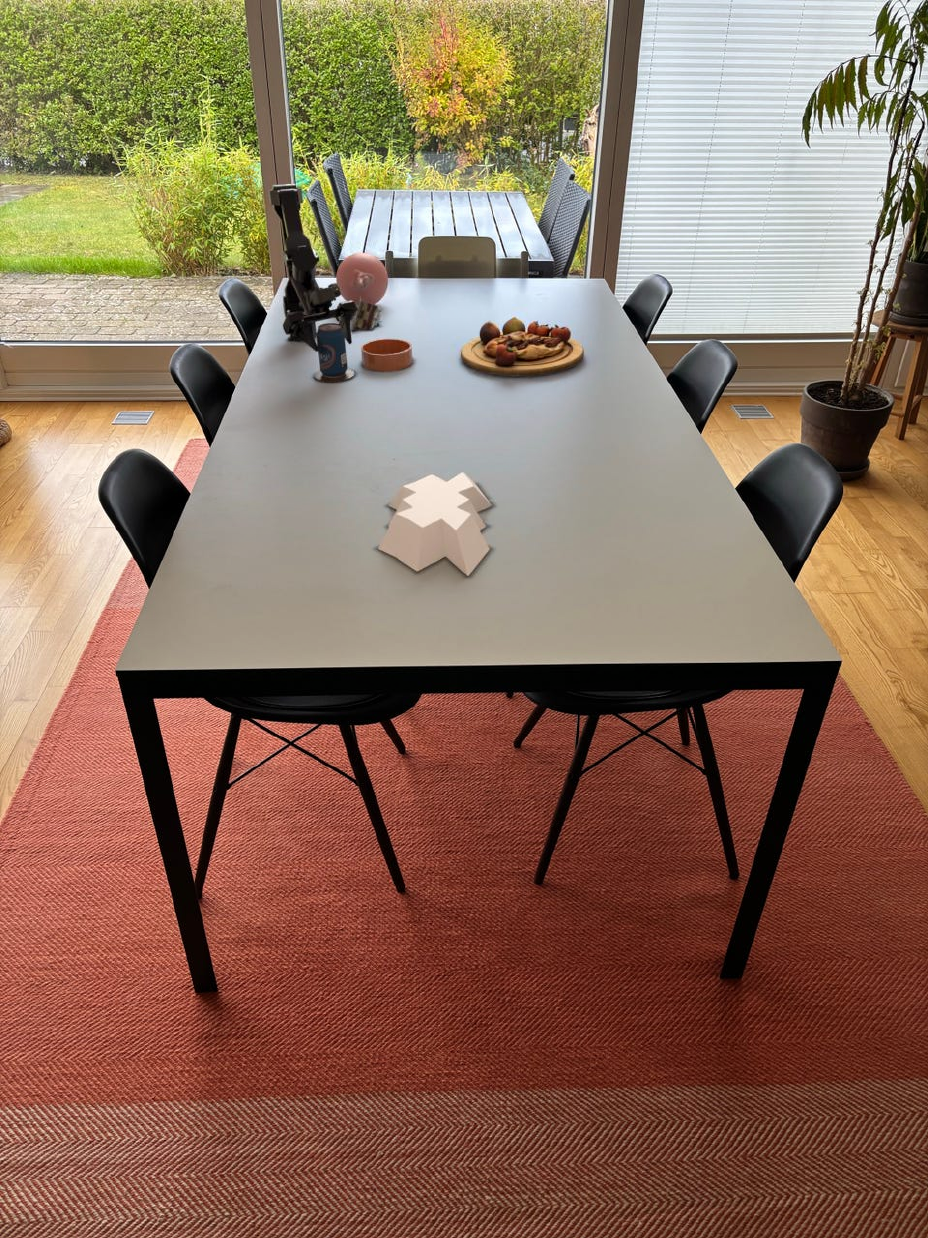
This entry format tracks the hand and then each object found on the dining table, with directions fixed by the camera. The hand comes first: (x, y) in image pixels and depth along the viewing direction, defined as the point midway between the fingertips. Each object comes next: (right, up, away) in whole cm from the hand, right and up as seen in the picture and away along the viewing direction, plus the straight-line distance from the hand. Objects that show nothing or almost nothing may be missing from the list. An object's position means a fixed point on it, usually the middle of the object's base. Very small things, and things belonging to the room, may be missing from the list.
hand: (334, 347), depth 242 cm
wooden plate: (+47, +1, +14) cm, 49 cm away
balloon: (+2, +27, +54) cm, 60 cm away
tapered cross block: (+27, -50, -63) cm, 85 cm away
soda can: (-1, -5, +5) cm, 8 cm away
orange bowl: (+12, -1, +12) cm, 17 cm away
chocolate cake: (+4, +17, +39) cm, 43 cm away
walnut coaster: (-1, -6, +5) cm, 8 cm away
